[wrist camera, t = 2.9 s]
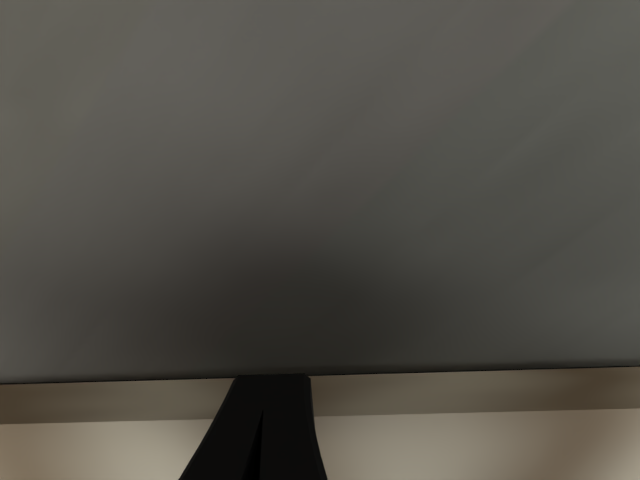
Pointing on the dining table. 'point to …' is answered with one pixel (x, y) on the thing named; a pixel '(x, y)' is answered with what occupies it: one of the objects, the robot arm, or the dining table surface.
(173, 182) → the dining table surface
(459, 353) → the dining table surface
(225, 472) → the robot arm
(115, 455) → the board
